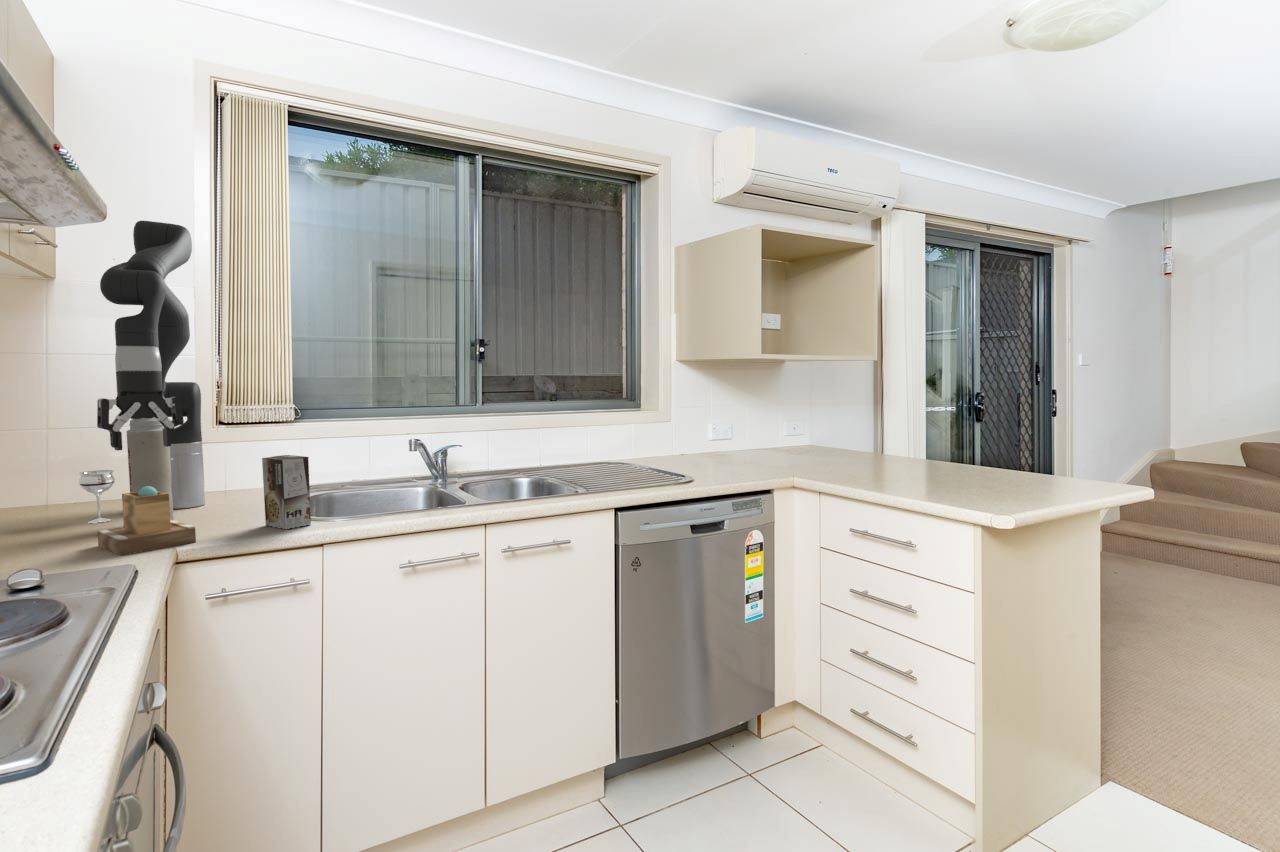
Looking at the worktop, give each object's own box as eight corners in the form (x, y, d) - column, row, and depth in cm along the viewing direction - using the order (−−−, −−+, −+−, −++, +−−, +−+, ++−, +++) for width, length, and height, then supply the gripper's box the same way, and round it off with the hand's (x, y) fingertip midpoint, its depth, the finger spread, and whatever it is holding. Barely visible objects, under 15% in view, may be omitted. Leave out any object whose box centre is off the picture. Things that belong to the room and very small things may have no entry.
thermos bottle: (126, 529, 154) (119, 406, 152) (138, 522, 162) (131, 405, 159) (168, 526, 157) (161, 405, 155) (177, 520, 164) (171, 404, 162)
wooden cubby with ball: (124, 529, 140) (121, 493, 140) (155, 524, 145) (153, 490, 144) (138, 534, 136) (136, 497, 135) (170, 529, 140) (168, 493, 140)
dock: (98, 545, 139) (97, 530, 139) (170, 533, 149) (170, 519, 149) (121, 555, 131) (120, 538, 131) (195, 542, 142) (195, 526, 142)
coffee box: (312, 525, 158) (309, 456, 157) (285, 530, 153) (282, 459, 152) (291, 520, 163) (288, 454, 162) (264, 525, 158) (261, 456, 157)
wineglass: (124, 518, 166) (121, 469, 166) (102, 524, 160) (99, 473, 159) (97, 518, 167) (94, 470, 166) (73, 524, 160) (70, 473, 159)
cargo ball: (133, 493, 139) (137, 485, 137) (150, 490, 141) (155, 481, 140) (140, 506, 138) (145, 498, 136) (157, 502, 141) (162, 494, 139)
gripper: (171, 369, 146) (175, 444, 147) (89, 369, 135) (94, 450, 136) (185, 369, 142) (189, 446, 143) (102, 368, 130) (107, 452, 131)
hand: (143, 448), depth 139 cm, fingers open, 8 cm apart
